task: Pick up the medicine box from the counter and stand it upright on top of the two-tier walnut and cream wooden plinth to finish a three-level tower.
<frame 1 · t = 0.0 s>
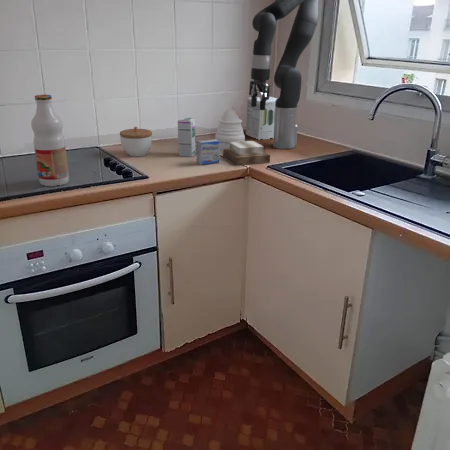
hand: (257, 108, 193), 17 cm above the worktop, tool pointing down, fingers open, 8 cm apart
medicine box: (207, 163, 179), on the worktop
supplement box: (263, 136, 223), on the worktop
syrup box: (187, 155, 189), on the worktop
plinth: (246, 159, 184), on the worktop
fruit juice: (54, 183, 154), on the worktop
lidded bowl: (137, 154, 189), on the worktop
honey pot: (229, 148, 201), on the worktop
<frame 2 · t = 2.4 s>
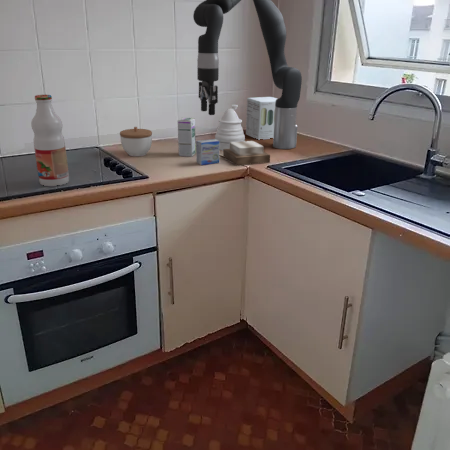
hand: (207, 112, 171), 19 cm above the worktop, tool pointing down, fingers open, 8 cm apart
nothing on the worktop moved.
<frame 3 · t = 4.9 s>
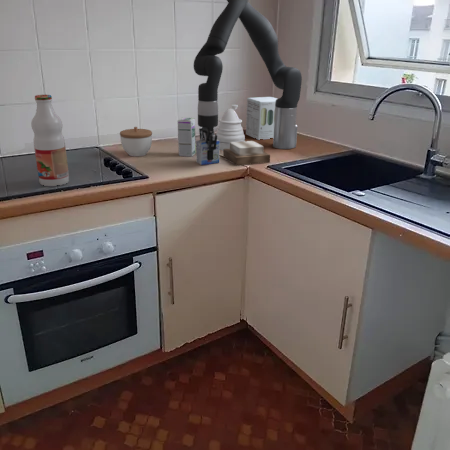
hand: (207, 157, 178), 2 cm above the worktop, tool pointing down, fingers closed on medicine box, 4 cm apart
medicine box: (207, 163, 179), on the worktop, touching gripper
everything else where it was.
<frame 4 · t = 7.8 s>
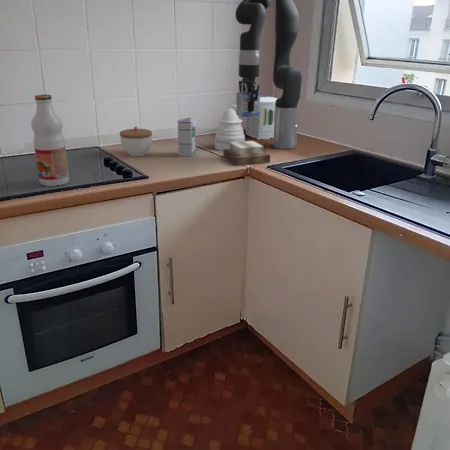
hand: (247, 110, 177), 19 cm above the worktop, tool pointing down, fingers closed on medicine box, 4 cm apart
medicine box: (247, 115, 177), point 17 cm above the worktop, touching gripper
everything else where it was.
when the fingers open (9 cm above the worktop, at t = 10.9 s): medicine box drops 1 cm, resting on plinth.
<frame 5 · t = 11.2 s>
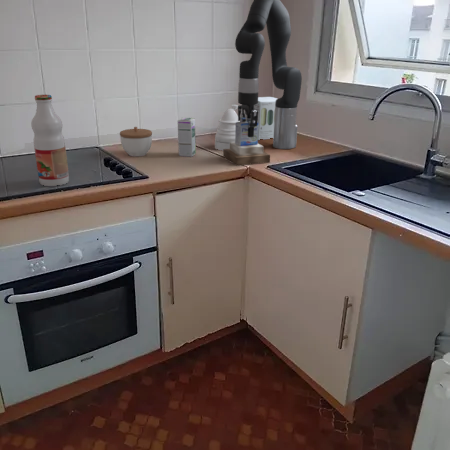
hand: (246, 135, 180), 10 cm above the worktop, tool pointing down, fingers open, 6 cm apart
medicine box: (246, 144, 182), point 6 cm above the worktop, touching plinth
everything else where it was.
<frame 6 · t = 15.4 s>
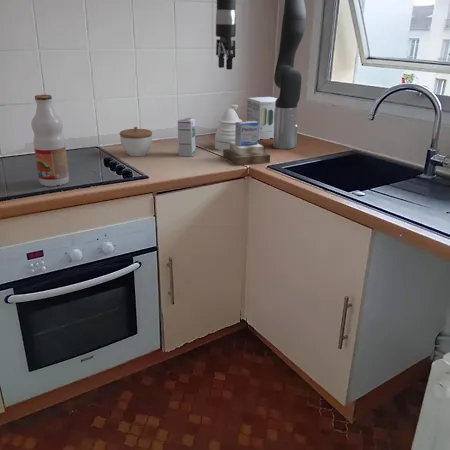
hand: (225, 68, 181), 33 cm above the worktop, tool pointing down, fingers open, 8 cm apart
nothing on the worktop moved.
at the end: medicine box 0.2 cm off-centre on the plinth, point 5.8 cm above the plinth's base; medicine box tilted 0°; the gripper is holding nothing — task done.
